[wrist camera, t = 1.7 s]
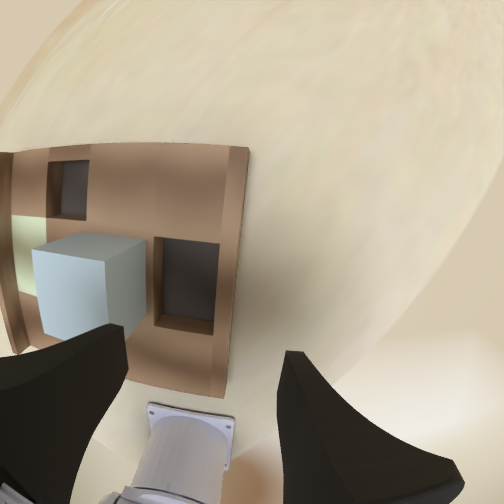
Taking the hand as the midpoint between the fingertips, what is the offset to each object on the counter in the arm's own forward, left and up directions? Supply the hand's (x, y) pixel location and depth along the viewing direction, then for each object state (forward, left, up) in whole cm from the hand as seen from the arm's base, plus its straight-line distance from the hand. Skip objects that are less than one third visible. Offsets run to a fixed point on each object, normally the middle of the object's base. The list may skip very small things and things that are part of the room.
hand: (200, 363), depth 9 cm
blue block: (0, +8, -7) cm, 11 cm away
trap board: (0, +9, -9) cm, 13 cm away
